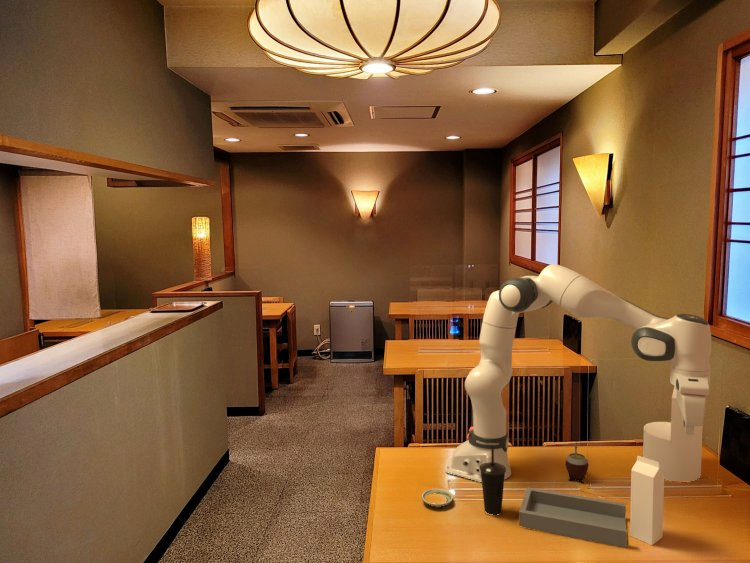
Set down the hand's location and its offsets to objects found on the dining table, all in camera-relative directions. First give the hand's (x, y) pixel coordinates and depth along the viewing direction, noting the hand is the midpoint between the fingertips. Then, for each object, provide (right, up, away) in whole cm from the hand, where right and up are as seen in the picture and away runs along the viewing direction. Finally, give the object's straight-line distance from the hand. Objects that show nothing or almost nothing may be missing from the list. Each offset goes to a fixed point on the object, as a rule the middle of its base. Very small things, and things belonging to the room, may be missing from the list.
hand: (687, 430), depth 138 cm
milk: (-7, -31, +7) cm, 33 cm away
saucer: (-62, -31, +28) cm, 74 cm away
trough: (-24, -31, +14) cm, 41 cm away
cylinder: (+20, -26, +44) cm, 55 cm away
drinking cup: (-46, -31, +22) cm, 59 cm away
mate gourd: (-14, -28, +39) cm, 50 cm away
